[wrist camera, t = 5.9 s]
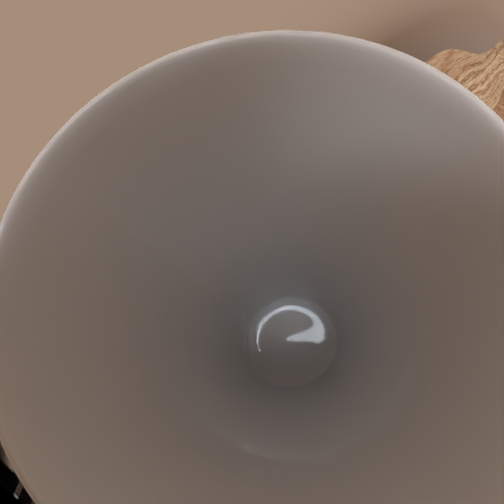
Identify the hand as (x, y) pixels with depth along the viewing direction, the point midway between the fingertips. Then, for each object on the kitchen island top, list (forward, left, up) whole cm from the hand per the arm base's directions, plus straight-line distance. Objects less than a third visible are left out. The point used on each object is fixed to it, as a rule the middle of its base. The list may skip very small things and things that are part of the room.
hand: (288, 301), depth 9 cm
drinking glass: (0, -1, -8) cm, 8 cm away
